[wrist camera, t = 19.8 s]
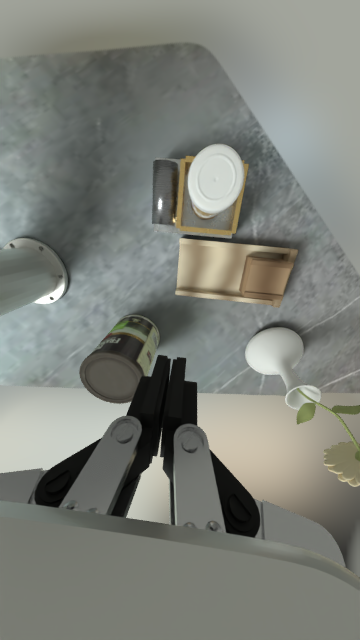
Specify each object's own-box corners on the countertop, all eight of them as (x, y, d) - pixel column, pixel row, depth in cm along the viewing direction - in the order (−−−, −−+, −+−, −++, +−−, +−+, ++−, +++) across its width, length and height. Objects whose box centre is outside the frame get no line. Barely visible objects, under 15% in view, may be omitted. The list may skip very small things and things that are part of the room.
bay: (176, 290, 37) (174, 296, 34) (181, 237, 33) (179, 238, 30) (272, 301, 37) (279, 307, 33) (288, 248, 32) (298, 249, 29)
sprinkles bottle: (185, 196, 27) (176, 167, 15) (214, 175, 26) (230, 125, 14) (200, 226, 29) (204, 223, 16) (228, 208, 27) (255, 189, 15)
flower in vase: (240, 367, 44) (287, 512, 21) (247, 322, 39) (318, 449, 16) (299, 370, 43) (414, 525, 20) (314, 324, 38) (488, 462, 15)
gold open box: (158, 231, 33) (149, 231, 26) (160, 166, 29) (150, 148, 23) (227, 237, 32) (235, 239, 26) (239, 173, 29) (251, 155, 22)
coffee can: (105, 328, 42) (65, 370, 29) (140, 305, 39) (113, 341, 26) (134, 361, 45) (109, 412, 33) (169, 342, 42) (157, 389, 30)
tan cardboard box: (238, 289, 35) (243, 296, 31) (245, 255, 32) (252, 258, 29) (272, 293, 35) (281, 301, 31) (282, 259, 32) (294, 263, 28)
